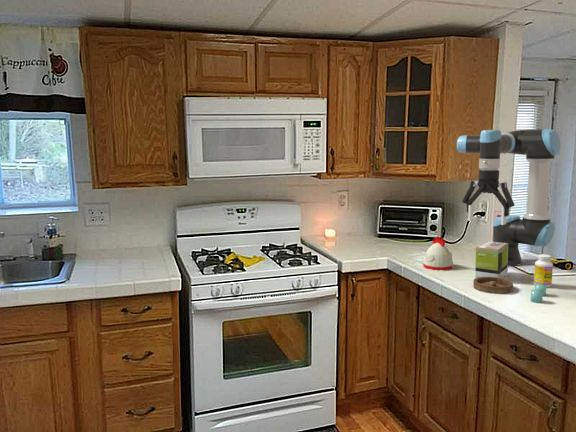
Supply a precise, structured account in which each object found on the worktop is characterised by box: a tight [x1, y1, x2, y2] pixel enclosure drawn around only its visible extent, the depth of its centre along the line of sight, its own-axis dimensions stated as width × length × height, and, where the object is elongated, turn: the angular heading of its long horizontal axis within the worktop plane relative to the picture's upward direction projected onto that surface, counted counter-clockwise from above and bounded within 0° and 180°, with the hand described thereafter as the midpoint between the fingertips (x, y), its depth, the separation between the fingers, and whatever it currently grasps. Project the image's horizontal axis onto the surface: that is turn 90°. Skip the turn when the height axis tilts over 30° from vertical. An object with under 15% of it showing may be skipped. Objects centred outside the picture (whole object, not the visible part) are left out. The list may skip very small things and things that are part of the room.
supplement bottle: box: [533, 253, 554, 288], centre depth 203 cm, size 7×7×13 cm
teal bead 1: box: [534, 284, 548, 297], centre depth 192 cm, size 4×4×4 cm
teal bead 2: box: [530, 289, 544, 304], centre depth 185 cm, size 4×4×4 cm
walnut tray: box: [473, 277, 514, 295], centre depth 202 cm, size 15×15×3 cm
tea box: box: [474, 240, 509, 279], centre depth 217 cm, size 15×10×15 cm, turn 141°
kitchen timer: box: [422, 235, 454, 271], centre depth 235 cm, size 14×14×15 cm
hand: (486, 222), depth 196 cm, fingers open, 13 cm apart
